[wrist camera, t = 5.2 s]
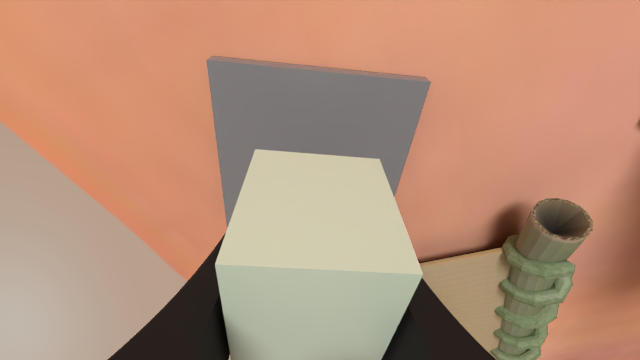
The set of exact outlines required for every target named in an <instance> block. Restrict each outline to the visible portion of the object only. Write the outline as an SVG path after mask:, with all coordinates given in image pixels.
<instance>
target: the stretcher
mask: <svg viewBox="0 0 640 360" xmlns="http://www.w3.org/2000/svg"><path fill="white" fill-rule="evenodd" d="M592 230H593V221H592V219H591V217H590V216H589V214H588V213H587V212H586V211H585V210H584V209H583V208H581V207H580V206H579V205H577V204H575V203H572V202H570V201H568V200H563V199H558V198H551V199H544V200H542V201H539V202H537V204H536V205H535V206H534V207H533V209H532V211H531V213H530V215H529V217H528V219H527V221H526V223H525V225H524V227H523V229H522V231H521V233H520V234H517V235H513V236H509V237H508V238H507V240H506V241H505V243H504V244H503V246H502V247H501V248H496V249H491V250H486V251H481V252H476V253H470V254H465V255H460V256H455V257H450V258H445V259H440V260H434V261H429V262H424V263H419V265H420V267H421V270H422V272H423V276H422V278H423V279H424V281H425V282H426V283H427V285H428V286H429V287H430V288H431V290H432V291H433V292H434V293H435V295H436V296H437V297H438V298H439V299H440V301H441V302H442V303H443V304H444V305H445V307H446V308H447V309H448V310H449V311H450V312H451V314H452V315H453V316H454V317H455V318H456V319H457V320H458V322H459V323H460V324H461V325H462V326H463V327H464V328H465V329H466V330H467V331H468V332H469V333H470V334H471V335H472V336H473V337H474V339H475V340H476V341H477V342H478V343H479V344H480V345H481V346H482V347H483V348H484V349H485V350H486V351H488V352H489V353H490V354H491V355H492V356H493V357H494V358H495V359H496V360H536V359H537V358H538V357H539V356H541V349H540V347H541V346H542V344H543V342H544V340H545V339H546V337H547V335H548V323H550V322H551V321H553V320H554V319H555V318H556V317H557V312H558V307H559V303H563V301H564V299H565V297H566V295H567V294H568V292H569V290H570V288H571V287H572V285H573V282H572V276H573V274H574V271H575V265H574V264H572V263H571V262H569V261H567V259H568V258H569V257H570V255H571V254H572V253H573V252H574V251H575V250H576V249H577V248H578V247H579V245H580V244H581V243H582V242H583V241H584V240H585V239H586V238H587V237H588V235H589V234H590V233H591V231H592Z"/></svg>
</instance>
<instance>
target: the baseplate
mask: <svg viewBox="0 0 640 360" xmlns="http://www.w3.org/2000/svg"><path fill="white" fill-rule="evenodd" d="M207 67H208V75H209V83H210V91H211V99H212V107H213V116H214V124H215V132H216V140H217V148H218V156H219V165H220V173H221V181H222V189H223V197H224V205H225V213H226V222H227V227H228V225H229V223H230V220H231V217H232V214H233V211H234V208H235V206H236V203H237V200H238V197H239V194H240V191H241V188H242V186H243V183H244V180H245V177H246V174H247V171H248V168H249V166H250V163H251V160H252V157H253V154H254V151H255V149H260V150H272V151H285V152H298V153H310V154H323V155H336V156H348V157H361V158H374V159H380V162H381V164H382V167H383V169H384V172H385V175H386V177H387V180H388V183H389V185H390V188H391V191H392V193H393V196H395V193H396V190H397V187H398V183H399V180H400V177H401V174H402V171H403V168H404V165H405V161H406V158H407V155H408V152H409V149H410V146H411V143H412V139H413V136H414V133H415V130H416V127H417V124H418V121H419V117H420V114H421V111H422V108H423V105H424V102H425V99H426V95H427V92H428V89H429V86H430V83H431V82H430V81H429V80H428V79H427V78H425V77H417V76H407V75H398V74H388V73H378V72H368V71H358V70H348V69H338V68H328V67H318V66H308V65H298V64H288V63H278V62H268V61H258V60H248V59H238V58H228V57H218V56H211V57H210V58H209V59H207Z"/></svg>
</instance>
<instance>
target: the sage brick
mask: <svg viewBox="0 0 640 360" xmlns="http://www.w3.org/2000/svg"><path fill="white" fill-rule="evenodd" d="M215 268H216V274H217V280H218V286H219V292H220V297H221V303H222V309H223V315H224V321H225V327H226V333H227V339H228V345H229V350H230V356H231V360H381V359H382V357H383V355H384V353H385V351H386V349H387V347H388V345H389V343H390V341H391V339H392V337H393V335H394V333H395V331H396V329H397V327H398V325H399V323H400V321H401V319H402V317H403V315H404V313H405V311H406V309H407V307H408V305H409V302H410V300H411V298H412V296H413V294H414V292H415V290H416V288H417V286H418V284H419V282H420V280H421V278H422V276H423V272H422V270H421V267H420V265H419V262H418V259H417V257H416V254H415V251H414V249H413V246H412V243H411V241H410V238H409V235H408V233H407V230H406V228H405V225H404V222H403V220H402V217H401V214H400V212H399V209H398V206H397V204H396V201H395V199H394V196H393V193H392V191H391V188H390V185H389V183H388V180H387V177H386V175H385V172H384V169H383V167H382V164H381V162H380V159H374V158H361V157H348V156H336V155H323V154H310V153H298V152H285V151H272V150H260V149H255V151H254V154H253V157H252V160H251V163H250V166H249V168H248V171H247V174H246V177H245V180H244V183H243V186H242V188H241V191H240V194H239V197H238V200H237V203H236V206H235V208H234V211H233V214H232V217H231V220H230V223H229V225H228V228H227V231H226V234H225V237H224V240H223V243H222V245H221V248H220V251H219V254H218V257H217V260H216V263H215Z"/></svg>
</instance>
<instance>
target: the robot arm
mask: <svg viewBox="0 0 640 360" xmlns="http://www.w3.org/2000/svg"><path fill="white" fill-rule="evenodd" d="M225 234H226V233H225ZM225 234H224V236H223V237H222V239H221V240H220V242H219V243H218V244H217V246H216V247H215V248H214V250H213V251H212V252H211V254H210V255H209V256H208V257H207V259H206V260H205V261H204V262H203V264H202V265H201V266H200V267H199V269H198V270H197V271H196V272H195V274H194V275H193V276H192V277H191V278H190V279H189V280H188V282H187V283H186V284H185V285H184V286H183V287H182V288H181V289H180V291H179V292H178V293H177V294H176V295H175V296H174V297H173V298H172V299H171V300H170V301H169V302H168V304H167V305H166V306H165V307H164V308H163V309H162V310H161V311H160V312H159V313H158V314H157V315H156V316H155V317H154V318H153V319H152V320H151V321H150V322H149V323H148V324H147V325H146V326H144V327H143V328H142V329H141V330H140V331H139V332H138V333H137V334H136V335H135V336H134V337H133V338H131V339H130V340H129V341H128V342H127V343H126V344H125V345H124V346H123V347H122V348H121V349H119V350H118V351H117V352H116V353H115V354H114V355H113V356H111V357H110V358H109V359H108V360H228V359H229V355H230V350H229V345H228V339H227V333H226V327H225V321H224V315H223V309H222V303H221V297H220V292H219V286H218V280H217V274H216V268H215V263H216V260H217V257H218V254H219V251H220V248H221V245H222V243H223V240H224V237H225ZM381 360H496V359H495V358H494V357H493V356H492V355H491V354H490V353H489V352H488V351H486V350H485V349H484V348H483V347H482V346H481V345H480V344H479V343H478V342H477V341H476V340H475V339H474V337H473V336H472V335H471V334H470V333H469V332H468V331H467V330H466V329H465V328H464V327H463V326H462V325H461V324H460V323H459V322H458V320H457V319H456V318H455V317H454V316H453V315H452V314H451V312H450V311H449V310H448V309H447V308H446V307H445V305H444V304H443V303H442V302H441V301H440V299H439V298H438V297H437V296H436V295H435V293H434V292H433V291H432V290H431V288H430V287H429V286H428V285H427V283H426V282H425V281H424V279H423V278H421V280H420V282H419V284H418V286H417V288H416V290H415V292H414V294H413V296H412V298H411V300H410V302H409V305H408V307H407V309H406V311H405V313H404V315H403V317H402V319H401V321H400V323H399V325H398V327H397V329H396V331H395V333H394V335H393V337H392V339H391V341H390V343H389V345H388V347H387V349H386V351H385V353H384V355H383V357H382V359H381Z"/></svg>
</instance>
